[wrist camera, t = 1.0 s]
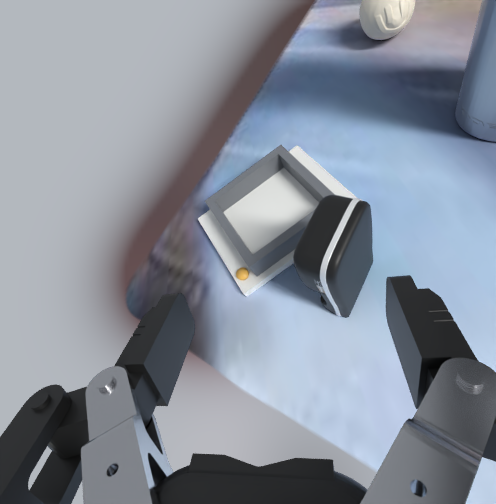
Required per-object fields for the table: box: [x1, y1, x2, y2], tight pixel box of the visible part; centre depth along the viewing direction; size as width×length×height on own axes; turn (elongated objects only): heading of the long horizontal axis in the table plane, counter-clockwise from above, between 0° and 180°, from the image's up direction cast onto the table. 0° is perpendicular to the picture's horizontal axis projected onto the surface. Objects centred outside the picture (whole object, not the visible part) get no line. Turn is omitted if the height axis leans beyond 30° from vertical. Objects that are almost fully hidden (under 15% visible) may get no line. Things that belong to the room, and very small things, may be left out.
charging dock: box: [198, 145, 357, 297], centre depth 36 cm, size 16×13×4 cm
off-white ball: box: [359, 0, 415, 40], centre depth 42 cm, size 7×7×7 cm
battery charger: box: [293, 195, 373, 318], centre depth 26 cm, size 7×4×11 cm, turn 150°
